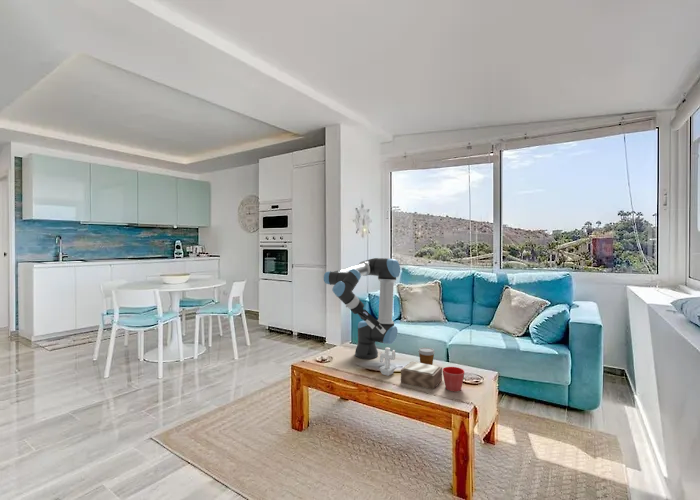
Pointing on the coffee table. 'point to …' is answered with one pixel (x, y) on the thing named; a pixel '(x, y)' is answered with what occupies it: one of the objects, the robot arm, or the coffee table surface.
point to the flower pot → (453, 378)
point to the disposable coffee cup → (426, 355)
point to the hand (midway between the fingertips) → (378, 329)
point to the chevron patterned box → (421, 375)
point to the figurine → (387, 362)
